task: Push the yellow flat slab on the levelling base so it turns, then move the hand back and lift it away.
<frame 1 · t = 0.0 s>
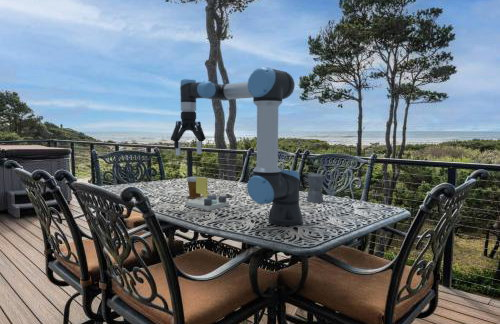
hand: (188, 154, 177), 28 cm above the table, tool pointing down, fingers open, 13 cm apart
levelling base: (207, 205, 191), on the table
coffeepot: (313, 201, 203), on the table
yellow flat slab: (205, 188, 195), point 8 cm above the table, hinge at 0.0°
disposable coffee cup: (195, 197, 215), on the table
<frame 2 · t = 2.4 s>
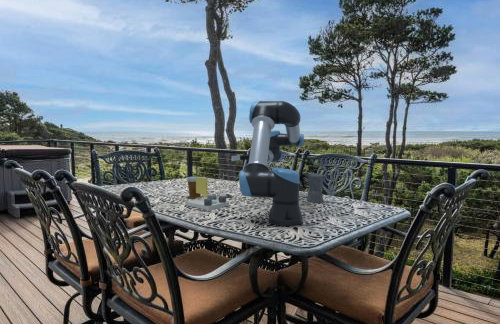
hand: (241, 159, 196), 24 cm above the table, tool horizontal, fingers open, 13 cm apart
nothing on the table moved.
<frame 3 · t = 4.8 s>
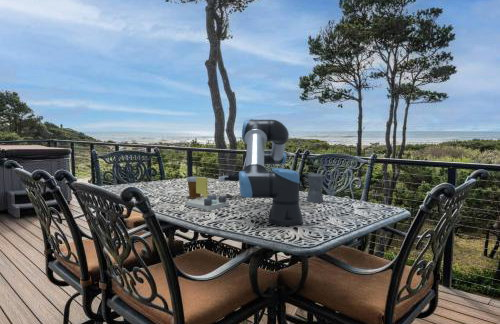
hand: (219, 179, 202), 12 cm above the table, tool horizontal, fingers closed
nothing on the table moved.
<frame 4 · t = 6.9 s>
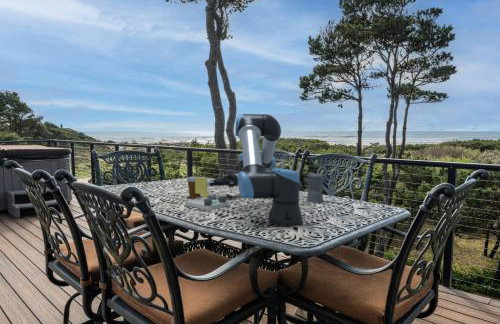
hand: (204, 184, 196), 10 cm above the table, tool horizontal, fingers closed
yellow flat slab: (205, 189, 194), point 8 cm above the table, hinge at 3.5°, touching gripper
everything else where it was.
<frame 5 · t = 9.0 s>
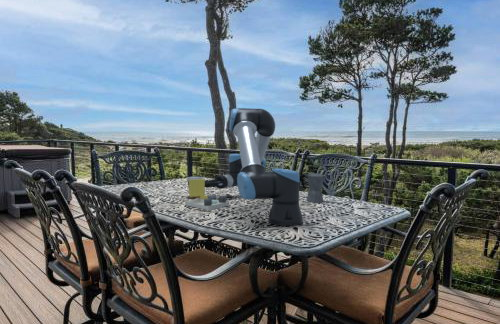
hand: (192, 186, 189), 10 cm above the table, tool horizontal, fingers closed
yellow flat slab: (203, 190, 190), point 8 cm above the table, hinge at 59.5°, touching gripper
everything else where it was.
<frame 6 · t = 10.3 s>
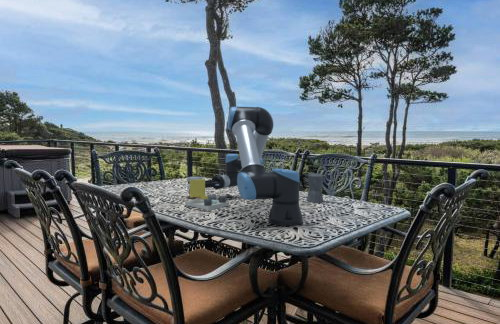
hand: (188, 186, 187), 10 cm above the table, tool horizontal, fingers closed
yellow flat slab: (203, 190, 189), point 8 cm above the table, hinge at 66.9°, touching gripper
everything else where it was.
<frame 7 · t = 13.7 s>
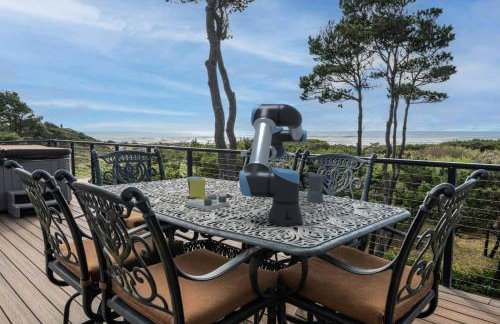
hand: (241, 153, 197), 27 cm above the table, tool horizontal, fingers closed
yellow flat slab: (203, 190, 189), point 8 cm above the table, hinge at 66.9°
everything else where it was.
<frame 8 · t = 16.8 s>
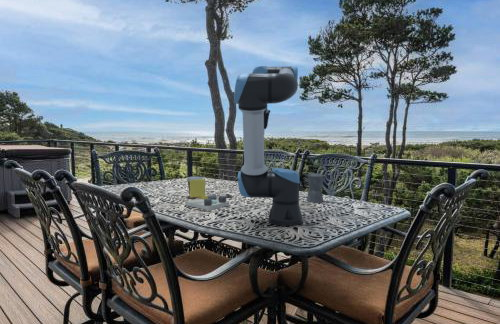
hand: (261, 141, 189), 34 cm above the table, tool pointing down, fingers closed
nothing on the table moved.
at the end: yellow flat slab at +67° (first picture: +0°); disposable coffee cup moved 0.2 cm from its start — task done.
